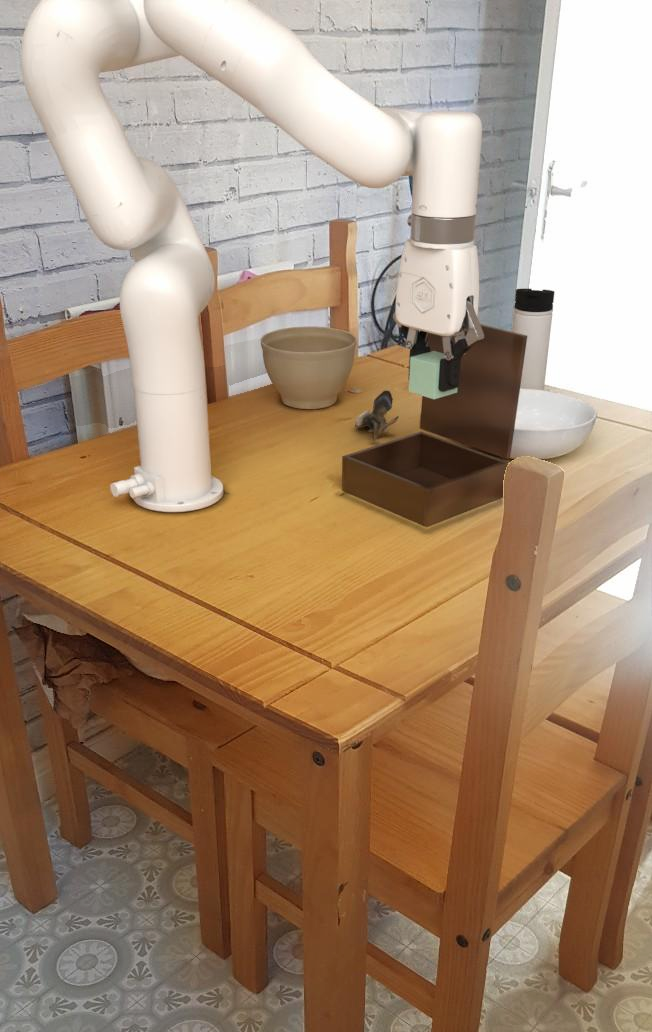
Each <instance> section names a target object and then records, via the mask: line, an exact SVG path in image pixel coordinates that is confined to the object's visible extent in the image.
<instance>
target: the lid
mask: <svg viewBox="0 0 652 1032" xmlns="http://www.w3.org/2000/svg"><path fill="white" fill-rule="evenodd" d="M480 325H481V328H482V330H483V333H484V338H483V339H482V340H481V341H479V342H478V343H476V344H475V345H473V346H472V347H471V348H470V349H469V350H468V351H467V352H466V355H465V356H463V357H461V364H460V378H459V386H458V388H457V393H454V394H450V395H447V396H444V397H440V398H437V399H431V398H428V397H425V396H421V397H422V398H421V407H420V408H421V410H420V417H419V429H420V430H422V431H426V432H429V433H431V434H434V435H436V436H440V437H443V438H445V439H448V440H451V441H453V442H457V443H460V444H463V445H466V446H468V447H471V448H474V449H477V450H479V451H482V452H485V453H488V454H491V455H494V456H497V457H498V458H502V459H506V460H508V459H511V458H510V456H511V449H512V442H513V434H514V427H515V420H516V413H517V406H518V399H519V392H520V385H521V378H522V371H523V364H524V357H525V350H526V343H527V335H523V334H519V333H515V332H512V330H506V329H503V328H499V327H494V326H490V325H486V324H482V323H480ZM464 334H465V336H466V335H467V331H464ZM452 338H453V345H454V344H455V337H452ZM426 346H429V347H430V352H432V351H436V352H440V353H443V354H444V350H443V340H442V336H440V335H436V334H432V333H429V337H428V342H427V345H426Z"/></svg>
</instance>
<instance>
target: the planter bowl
mask: <svg viewBox="0 0 652 1032" xmlns="http://www.w3.org/2000/svg"><path fill="white" fill-rule="evenodd" d="M356 346H357V337H356V336H355V334H353V333H352V332H349V331H348V330H347V331H346V330H342V329H340V328H339V329H338V328H333V327H326V326H315V325H313V326H308V325H307V326H291V327H285V328H279V329H275V330H272V331H269V332H266V333H265V334H263V335H261V337H260V347H261V349H262V360H263V364H264V368H265V371H266V373H267V376H268V378H269V380H270V382H271V384H272V385H273V387H274V389H275V390H276V391H277V392H278V393H279V394H280V398H281V402H282V403H283V404H284V405H286V406H287V407H290V408H294V409H301V410H317V409H324V408H329V407H331V406H333V405H334V404H335V403H336V402H337V401H338V395H339V393H340V392H341V391H342V390H343V388H344V387H345V385H346V383H347V382H348V379H349V377H350V375H351V372H352V368H353V365H354V362H355V361H354V360H355V351H356Z"/></svg>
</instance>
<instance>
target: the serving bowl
mask: <svg viewBox="0 0 652 1032" xmlns="http://www.w3.org/2000/svg"><path fill="white" fill-rule="evenodd" d="M597 417H598V412H597V409H596V407H595V406H593V405H592V404H591V403H589V402H587V401H585V400H583V399H581V398H579V397H575V396H573V395H569V394H565V393H560V392H555V391H549V390H545V389H544V390H536V389H520V392H519V399H518V406H517V413H516V420H515V427H514V434H513V442H512V449H511V456H510V458H509V459H513V460H515V458H517V457H521V456H530V457H535V458H538V459H539V460H547V459H554V458H557V457H562V456H565V455H568V454H570V453H571V452H573V451H575V450H576V449H578V448H579V447H580V446H581V445H582V444H584V443H585V441H586V440H588V438H589V436H590V435H591V433H592V431H593V429H594V426H595V423H596V421H597Z"/></svg>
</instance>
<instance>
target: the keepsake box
mask: <svg viewBox="0 0 652 1032" xmlns="http://www.w3.org/2000/svg"><path fill="white" fill-rule="evenodd" d="M341 459H342V460H341V492H344V493H347V494H349V495H350V496H353V497H356V498H357V499H360V500H362V501H365V502H366V503H369V504H371V505H374V506H376V507H378V508H381V509H383V510H385V511H388V512H390V513H392V514H395V515H397V516H399V517H402V518H404V519H406V520H408V521H411V522H413V523H415V524H418V525H420V526H423V527H425V528H429V527H431V526H433V525H437V524H439V523H442V522H444V521H447V520H450V519H452V518H454V517H458V516H459V515H462V514H464V513H467V512H470V511H472V510H475V509H478V508H480V507H482V506H485V505H488V504H491V503H493V502H495V501H498V500H500V499H504V497H503V480H504V474H505V470H506V467H507V468H508V466H507V465H508V464H509V462H508V461H506V460H503V459H501V458H499V457H495V456H492V455H490V454H486V453H484V452H481V451H478V450H475V449H473V448H469V447H467V446H464V445H461V444H458V443H455V442H452V441H449V440H446V439H444V438H441V437H438V436H435V435H432V434H429V433H427V432H424V431H418V432H414V433H411V434H409V435H405V436H402V437H399V438H396V439H392V440H389V441H386V442H383V443H379V444H376V445H374V446H373V445H372V446H370V447H367V448H364V449H361V450H357V451H354V452H351V453H348V454H345V455H342V456H341Z"/></svg>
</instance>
